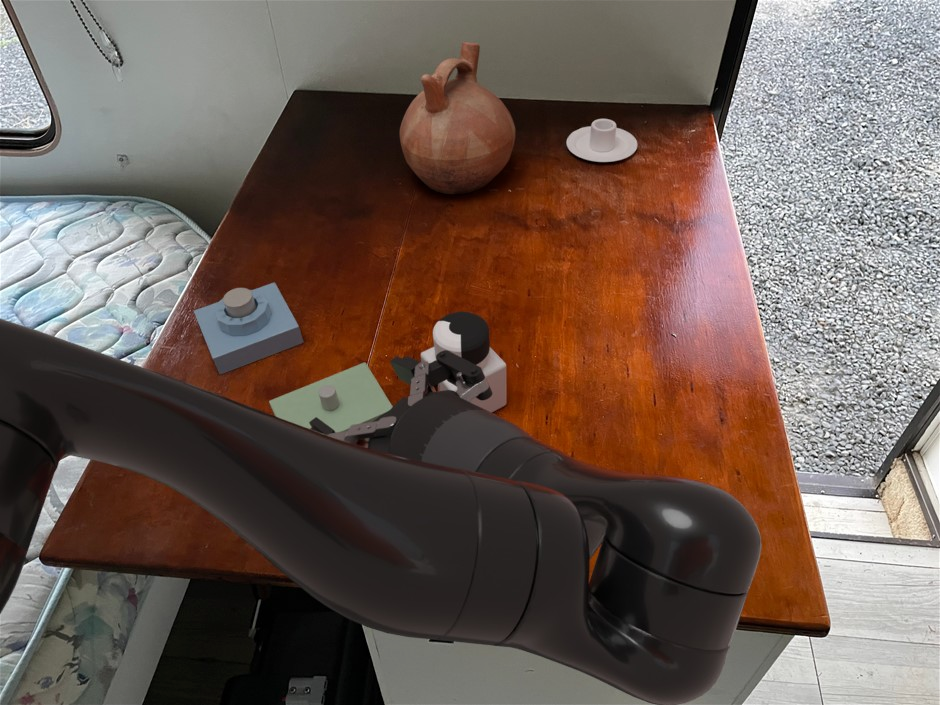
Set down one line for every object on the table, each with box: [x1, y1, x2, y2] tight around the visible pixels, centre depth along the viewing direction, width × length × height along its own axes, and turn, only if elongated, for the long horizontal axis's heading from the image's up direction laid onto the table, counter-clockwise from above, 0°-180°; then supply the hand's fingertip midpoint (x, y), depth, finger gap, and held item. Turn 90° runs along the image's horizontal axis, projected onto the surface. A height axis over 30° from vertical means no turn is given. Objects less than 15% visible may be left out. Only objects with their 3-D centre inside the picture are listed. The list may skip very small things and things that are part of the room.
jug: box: [399, 41, 516, 195], centre depth 110 cm, size 18×18×20 cm
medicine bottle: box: [420, 311, 508, 413], centre depth 79 cm, size 7×7×12 cm
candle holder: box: [566, 118, 638, 163], centre depth 120 cm, size 12×12×4 cm
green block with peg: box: [268, 362, 394, 441], centre depth 71 cm, size 10×7×15 cm
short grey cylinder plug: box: [222, 287, 256, 318], centre depth 89 cm, size 4×4×2 cm
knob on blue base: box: [193, 281, 305, 376], centre depth 91 cm, size 11×10×5 cm
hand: (357, 396), depth 60 cm, fingers open, 8 cm apart
